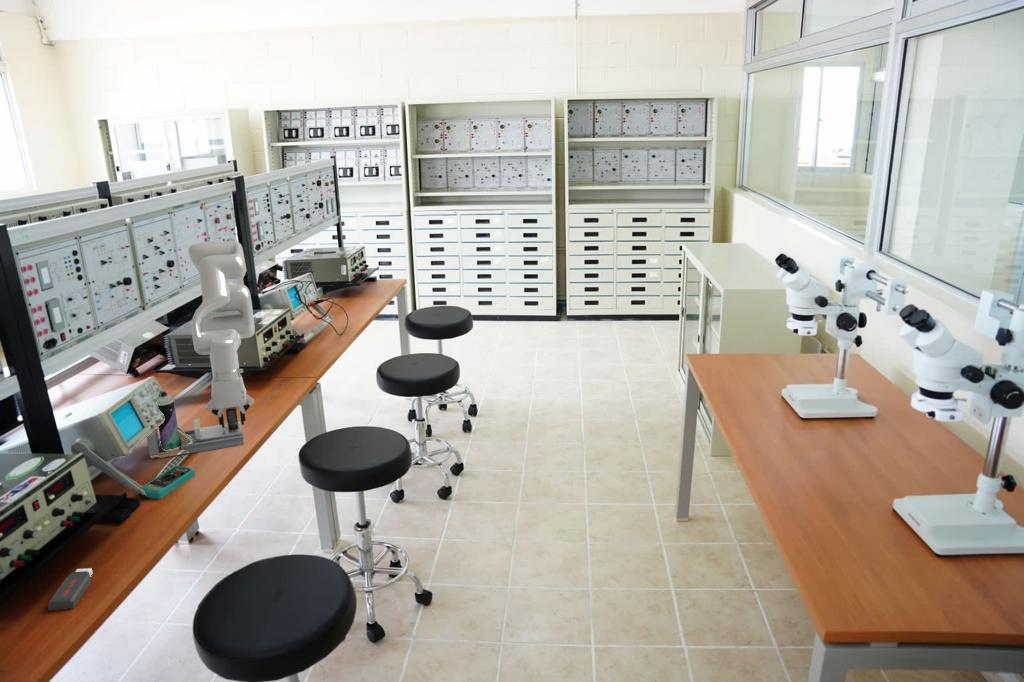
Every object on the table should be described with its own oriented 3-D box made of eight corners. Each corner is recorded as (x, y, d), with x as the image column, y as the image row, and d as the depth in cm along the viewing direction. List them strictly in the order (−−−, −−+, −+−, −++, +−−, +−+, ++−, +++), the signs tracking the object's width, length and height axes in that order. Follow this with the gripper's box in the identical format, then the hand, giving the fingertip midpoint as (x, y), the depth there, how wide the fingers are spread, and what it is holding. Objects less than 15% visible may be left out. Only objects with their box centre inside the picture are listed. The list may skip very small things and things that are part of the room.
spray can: (160, 453, 218) (150, 395, 211) (164, 445, 223) (154, 388, 216) (179, 451, 219) (170, 394, 213) (182, 443, 224) (173, 387, 218)
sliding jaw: (196, 434, 227) (192, 409, 224) (241, 426, 233) (238, 402, 230) (196, 445, 220) (192, 419, 217) (243, 437, 225) (239, 412, 222)
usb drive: (49, 611, 151) (46, 601, 150) (73, 576, 162) (71, 566, 161) (74, 610, 152) (72, 599, 151) (97, 574, 163) (95, 565, 162)
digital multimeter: (197, 475, 206) (196, 467, 205) (159, 501, 193) (158, 492, 192) (177, 471, 208) (176, 463, 207) (138, 496, 195) (137, 487, 194)
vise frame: (151, 443, 224) (147, 421, 221) (241, 428, 235) (238, 407, 232) (150, 460, 213) (146, 437, 211) (244, 444, 224) (241, 422, 222)
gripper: (253, 366, 228) (259, 415, 234) (197, 373, 221) (204, 424, 227) (255, 374, 221) (261, 425, 227) (197, 382, 214) (205, 434, 220)
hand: (232, 424), depth 227 cm, fingers open, 5 cm apart
